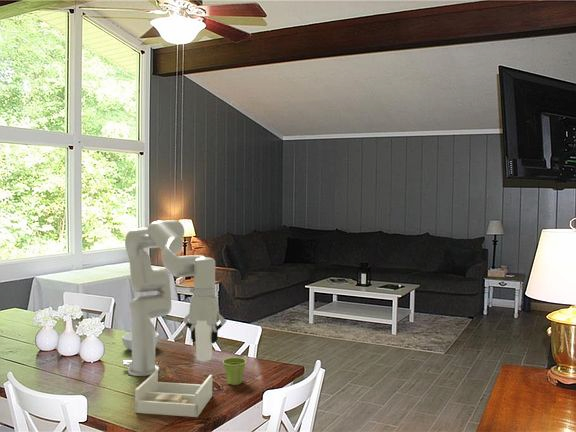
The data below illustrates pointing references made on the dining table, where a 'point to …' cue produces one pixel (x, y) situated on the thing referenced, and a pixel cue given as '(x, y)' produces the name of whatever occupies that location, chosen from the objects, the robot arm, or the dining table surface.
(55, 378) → the dining table surface
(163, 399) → the offcut stack
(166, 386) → the tray
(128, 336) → the cereal bowl
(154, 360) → the robot arm
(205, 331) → the drinking glass
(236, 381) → the plant pot
